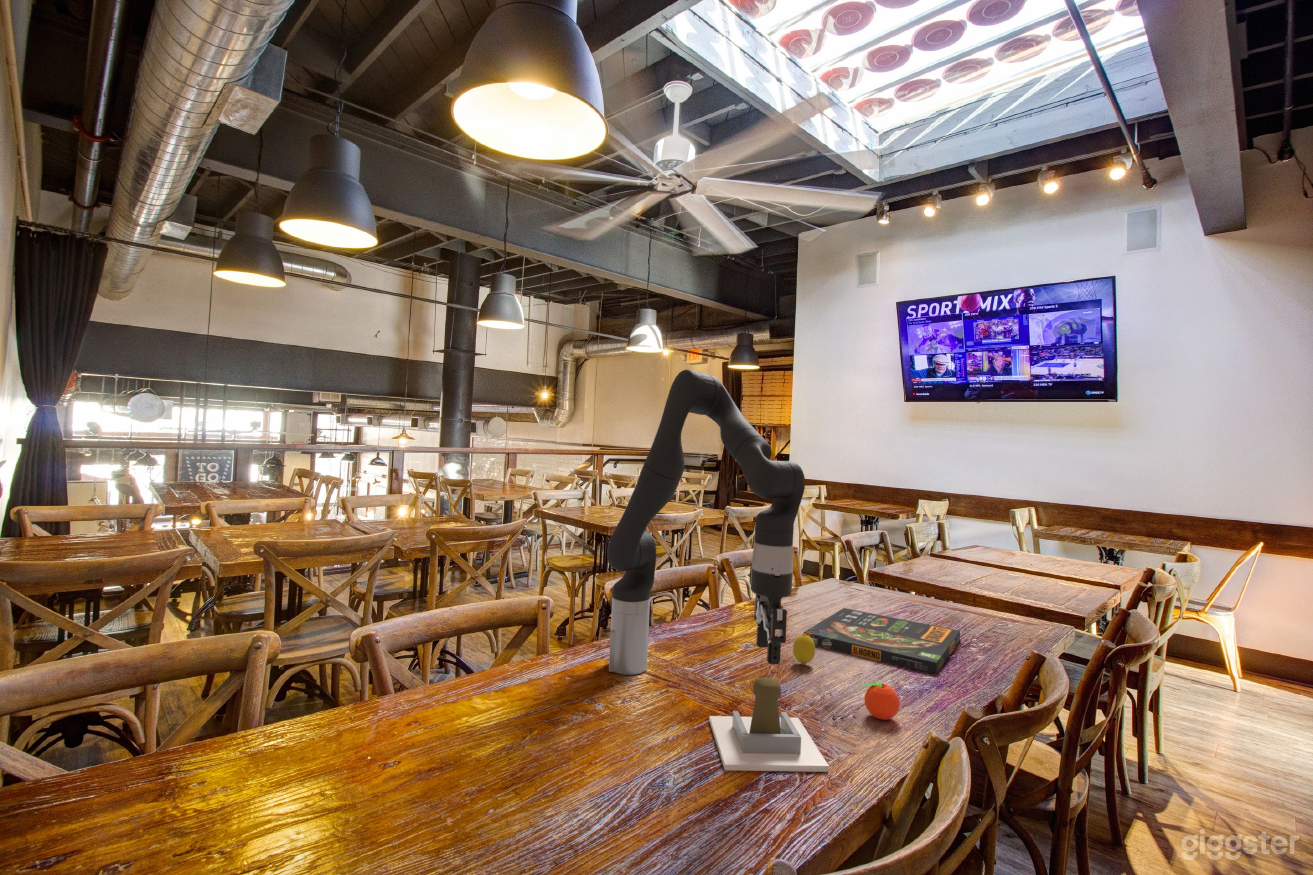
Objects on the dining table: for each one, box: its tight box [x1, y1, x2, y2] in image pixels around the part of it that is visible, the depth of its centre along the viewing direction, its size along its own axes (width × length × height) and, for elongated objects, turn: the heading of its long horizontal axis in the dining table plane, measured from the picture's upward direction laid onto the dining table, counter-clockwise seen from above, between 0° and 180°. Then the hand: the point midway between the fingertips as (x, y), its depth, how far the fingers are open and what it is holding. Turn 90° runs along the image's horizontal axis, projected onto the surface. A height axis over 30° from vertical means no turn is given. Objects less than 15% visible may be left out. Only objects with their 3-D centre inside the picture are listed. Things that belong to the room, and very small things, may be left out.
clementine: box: [859, 682, 901, 721], centre depth 125 cm, size 8×7×7 cm
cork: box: [749, 677, 782, 734], centre depth 111 cm, size 6×6×11 cm
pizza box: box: [803, 607, 961, 675], centre depth 175 cm, size 35×35×4 cm
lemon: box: [792, 633, 816, 666], centre depth 153 cm, size 6×6×8 cm
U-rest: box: [708, 710, 830, 773], centre depth 111 cm, size 18×18×4 cm
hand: (767, 654), depth 111 cm, fingers open, 8 cm apart
